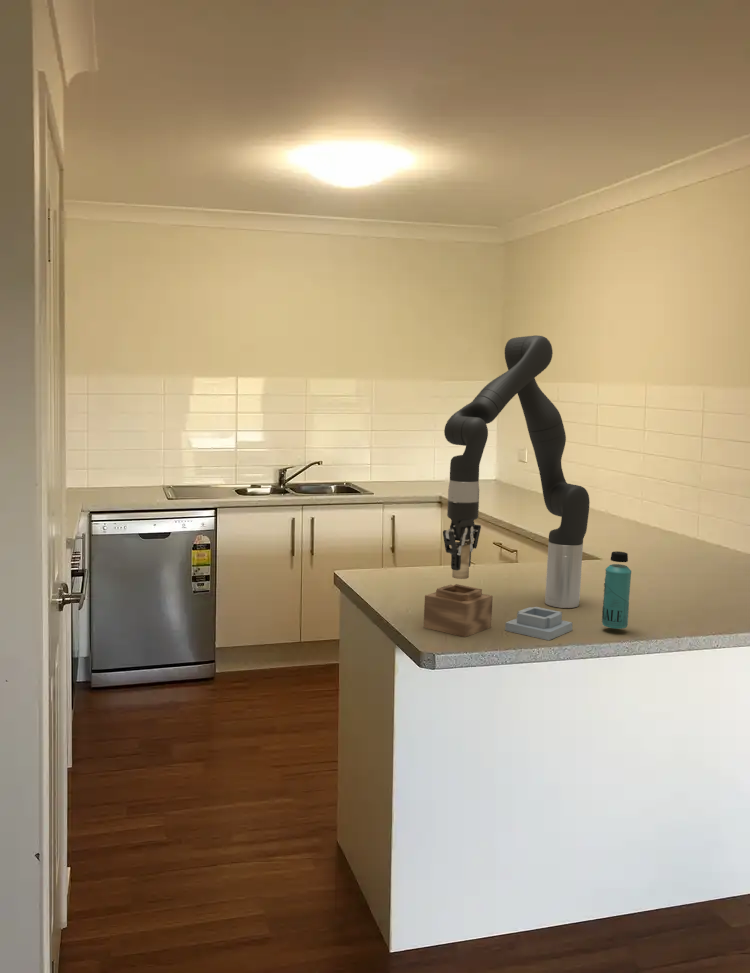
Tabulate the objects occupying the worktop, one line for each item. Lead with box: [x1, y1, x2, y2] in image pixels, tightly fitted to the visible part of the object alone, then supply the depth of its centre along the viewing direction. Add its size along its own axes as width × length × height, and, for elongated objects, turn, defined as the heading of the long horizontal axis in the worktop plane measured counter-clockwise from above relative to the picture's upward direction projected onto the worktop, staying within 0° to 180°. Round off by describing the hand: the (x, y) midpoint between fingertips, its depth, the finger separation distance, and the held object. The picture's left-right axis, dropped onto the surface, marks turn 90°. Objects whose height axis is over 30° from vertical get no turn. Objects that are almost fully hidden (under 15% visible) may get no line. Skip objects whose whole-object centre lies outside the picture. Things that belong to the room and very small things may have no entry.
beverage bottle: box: [601, 550, 632, 630], centre depth 236 cm, size 6×7×20 cm
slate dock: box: [504, 606, 573, 641], centre depth 235 cm, size 12×12×4 cm
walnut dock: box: [423, 583, 494, 638], centre depth 235 cm, size 12×12×10 cm
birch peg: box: [451, 544, 470, 580], centre depth 233 cm, size 4×4×8 cm
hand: (460, 567), depth 234 cm, fingers closed on birch peg, 4 cm apart
